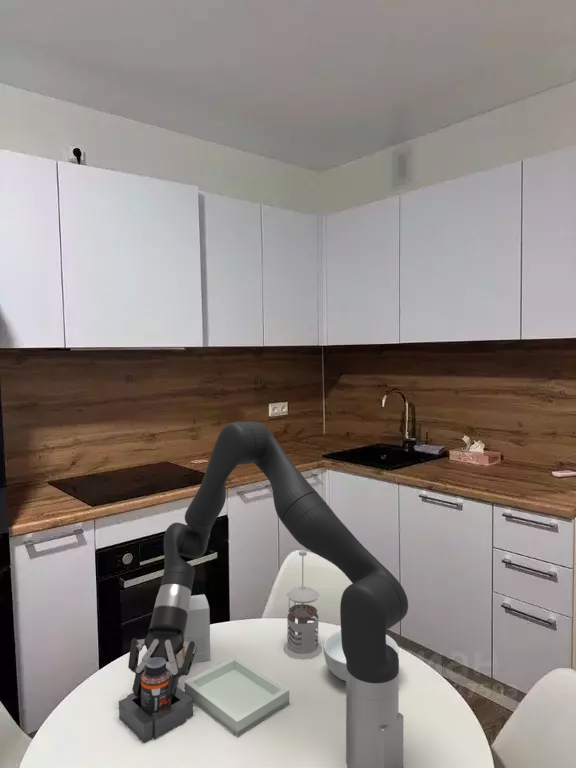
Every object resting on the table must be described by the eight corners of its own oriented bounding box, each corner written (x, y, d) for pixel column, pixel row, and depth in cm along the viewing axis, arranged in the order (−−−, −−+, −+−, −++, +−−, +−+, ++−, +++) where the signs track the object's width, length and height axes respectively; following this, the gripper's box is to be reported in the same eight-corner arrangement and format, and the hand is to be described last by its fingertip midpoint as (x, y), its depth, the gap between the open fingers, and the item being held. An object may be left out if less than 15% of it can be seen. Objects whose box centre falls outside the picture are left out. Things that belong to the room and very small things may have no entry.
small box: (180, 647, 133) (179, 596, 133) (205, 643, 135) (205, 593, 134) (183, 665, 125) (183, 611, 125) (210, 660, 127) (210, 607, 127)
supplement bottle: (163, 729, 103) (162, 672, 103) (135, 725, 105) (134, 668, 104) (176, 709, 109) (175, 655, 109) (149, 705, 110) (148, 652, 110)
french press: (292, 663, 126) (292, 559, 125) (274, 639, 137) (274, 544, 136) (329, 654, 130) (329, 553, 129) (308, 632, 141) (308, 539, 140)
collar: (194, 717, 107) (194, 700, 107) (145, 744, 99) (145, 726, 99) (165, 693, 115) (165, 677, 114) (117, 716, 107) (117, 699, 107)
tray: (289, 704, 111) (289, 690, 111) (237, 737, 101) (237, 721, 101) (235, 669, 124) (235, 656, 124) (184, 695, 114) (184, 681, 114)
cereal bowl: (374, 649, 132) (374, 621, 132) (413, 687, 117) (413, 655, 116) (312, 663, 126) (312, 634, 126) (344, 705, 110) (344, 672, 110)
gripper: (134, 602, 114) (112, 690, 103) (200, 605, 113) (184, 694, 101) (144, 615, 120) (123, 699, 108) (206, 617, 118) (192, 703, 107)
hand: (153, 696), depth 105 cm, fingers closed on supplement bottle, 6 cm apart
